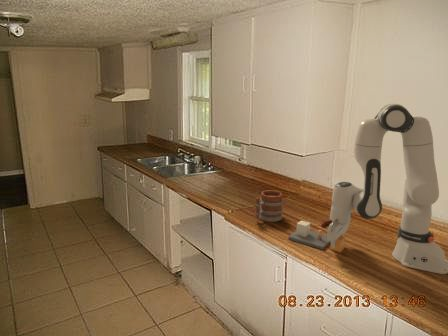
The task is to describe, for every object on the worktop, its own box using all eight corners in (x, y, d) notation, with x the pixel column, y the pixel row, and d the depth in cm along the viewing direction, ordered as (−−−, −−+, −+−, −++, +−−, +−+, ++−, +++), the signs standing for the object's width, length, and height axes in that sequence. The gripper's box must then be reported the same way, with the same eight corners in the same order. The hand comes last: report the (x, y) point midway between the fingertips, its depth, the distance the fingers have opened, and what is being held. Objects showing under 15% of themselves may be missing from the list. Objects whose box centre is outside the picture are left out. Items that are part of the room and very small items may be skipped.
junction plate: (333, 239, 169) (334, 225, 168) (322, 249, 159) (324, 235, 157) (300, 229, 180) (301, 216, 178) (288, 239, 169) (289, 225, 167)
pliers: (352, 221, 193) (353, 217, 192) (340, 233, 178) (341, 228, 177) (333, 216, 200) (333, 212, 199) (320, 227, 184) (320, 223, 184)
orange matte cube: (344, 248, 160) (345, 237, 158) (340, 252, 156) (341, 240, 155) (333, 245, 163) (334, 234, 161) (330, 249, 159) (331, 237, 158)
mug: (287, 218, 195) (289, 193, 192) (263, 226, 184) (265, 200, 180) (270, 211, 206) (271, 187, 202) (247, 218, 195) (247, 193, 191)
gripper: (338, 225, 146) (335, 253, 149) (353, 211, 162) (350, 238, 165) (324, 221, 150) (322, 249, 153) (340, 208, 165) (337, 234, 169)
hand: (336, 243), depth 159 cm, fingers open, 8 cm apart
